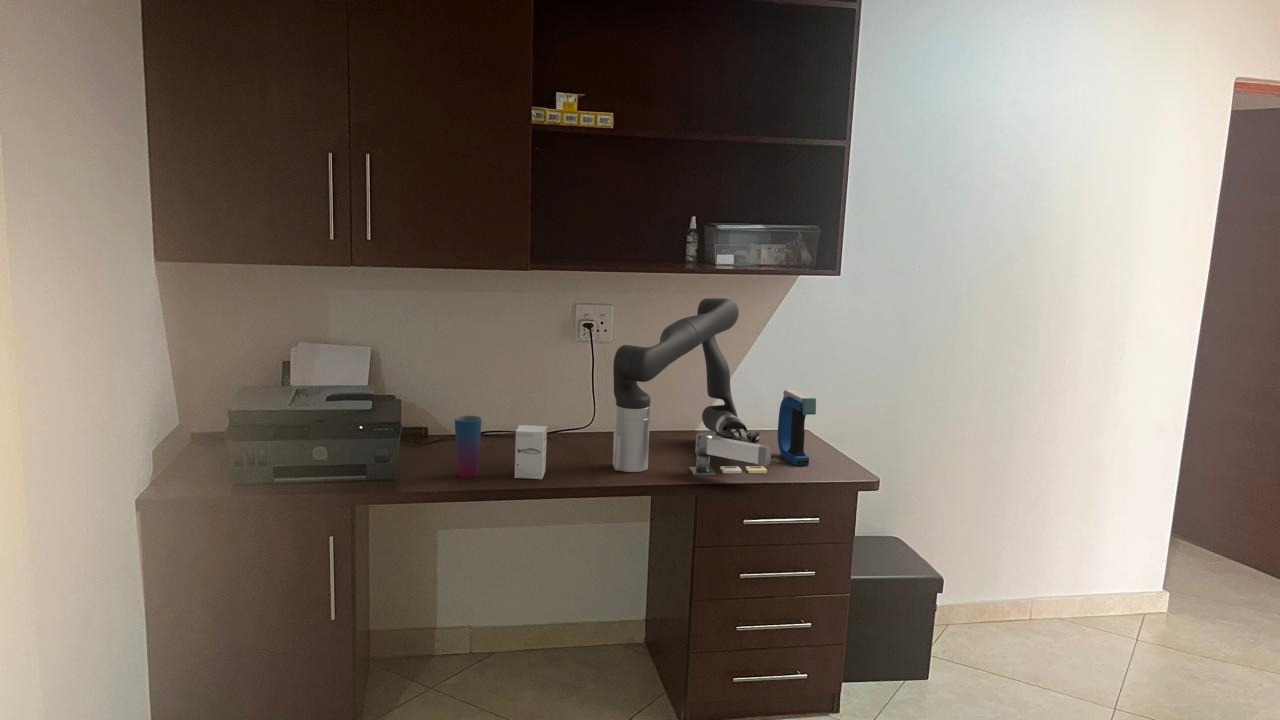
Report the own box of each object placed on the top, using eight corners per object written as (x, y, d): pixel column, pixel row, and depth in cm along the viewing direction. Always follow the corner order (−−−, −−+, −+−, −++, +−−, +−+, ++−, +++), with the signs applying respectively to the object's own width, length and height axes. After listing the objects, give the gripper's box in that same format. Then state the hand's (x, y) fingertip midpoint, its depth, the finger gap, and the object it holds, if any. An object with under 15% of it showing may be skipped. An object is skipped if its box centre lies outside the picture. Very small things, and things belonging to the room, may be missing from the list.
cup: (455, 471, 243) (456, 415, 241) (482, 471, 244) (482, 415, 241) (452, 478, 237) (452, 421, 234) (479, 479, 237) (480, 421, 235)
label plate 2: (748, 473, 252) (749, 470, 252) (745, 469, 256) (745, 465, 255) (766, 473, 252) (767, 470, 252) (763, 469, 256) (763, 466, 256)
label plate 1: (723, 473, 251) (723, 469, 251) (720, 469, 255) (720, 465, 255) (741, 473, 251) (741, 470, 251) (738, 469, 255) (738, 465, 255)
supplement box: (513, 478, 239) (514, 430, 237) (518, 470, 246) (519, 424, 244) (542, 480, 238) (543, 431, 236) (546, 472, 246) (547, 425, 244)
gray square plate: (693, 475, 248) (694, 457, 247) (689, 469, 254) (690, 451, 253) (715, 475, 248) (716, 457, 248) (711, 469, 254) (712, 451, 254)
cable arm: (692, 452, 250) (693, 435, 249) (700, 449, 253) (701, 432, 252) (763, 466, 238) (764, 448, 238) (771, 463, 242) (772, 445, 241)
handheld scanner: (798, 468, 258) (804, 398, 255) (774, 453, 273) (780, 387, 270) (813, 468, 259) (819, 398, 256) (789, 453, 275) (794, 387, 272)
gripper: (709, 416, 266) (721, 431, 249) (754, 417, 268) (769, 431, 251) (707, 442, 268) (719, 458, 251) (752, 442, 269) (767, 458, 252)
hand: (744, 444), depth 251 cm, fingers closed
